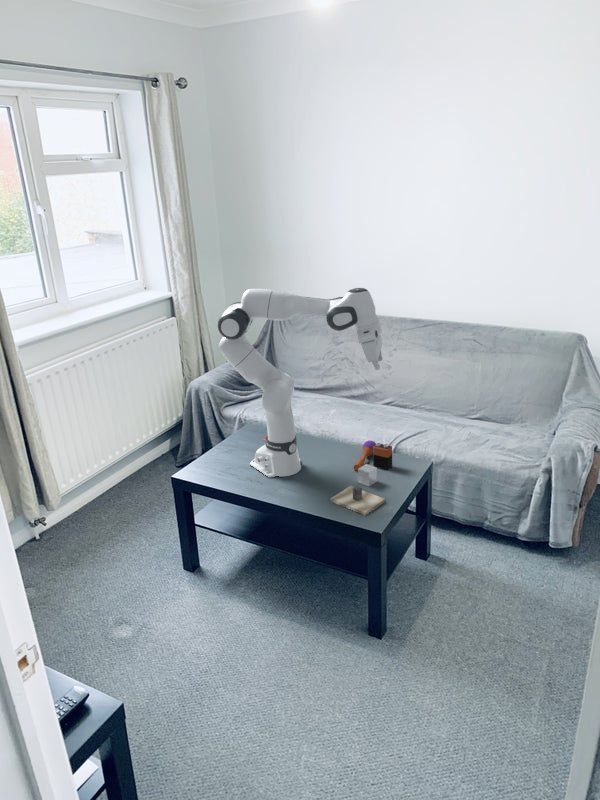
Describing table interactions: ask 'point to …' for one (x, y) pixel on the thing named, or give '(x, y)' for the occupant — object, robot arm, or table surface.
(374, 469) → the brushed metal cube
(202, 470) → the table surface
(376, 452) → the battery
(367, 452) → the kendama
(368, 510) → the holder
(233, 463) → the table surface
